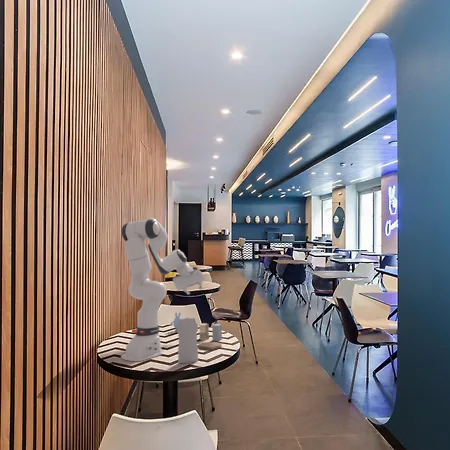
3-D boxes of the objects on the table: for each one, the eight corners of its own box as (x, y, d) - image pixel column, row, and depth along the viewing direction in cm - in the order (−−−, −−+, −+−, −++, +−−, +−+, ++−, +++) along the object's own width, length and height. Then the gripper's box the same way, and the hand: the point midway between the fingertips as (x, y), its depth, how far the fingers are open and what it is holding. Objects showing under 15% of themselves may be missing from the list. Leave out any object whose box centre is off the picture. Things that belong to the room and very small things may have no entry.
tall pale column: (197, 359, 195) (196, 315, 195) (199, 362, 191) (198, 317, 191) (177, 362, 192) (176, 317, 192) (178, 364, 188) (177, 319, 188)
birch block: (205, 340, 231) (204, 325, 231) (199, 339, 233) (199, 324, 233) (208, 338, 234) (208, 323, 234) (203, 337, 236) (203, 323, 236)
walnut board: (213, 351, 208) (213, 349, 208) (193, 348, 215) (193, 346, 215) (225, 345, 219) (225, 343, 219) (206, 342, 226) (206, 340, 226)
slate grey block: (218, 341, 228) (217, 325, 228) (212, 340, 230) (212, 325, 231) (221, 339, 232) (221, 324, 232) (216, 338, 234) (215, 323, 234)
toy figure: (185, 329, 260) (184, 311, 260) (187, 331, 254) (186, 312, 254) (169, 330, 257) (169, 312, 257) (170, 332, 251) (170, 314, 251)
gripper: (172, 275, 240) (182, 294, 235) (200, 266, 251) (209, 284, 247) (170, 279, 244) (179, 299, 239) (196, 270, 256) (206, 288, 251)
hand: (195, 291), depth 243 cm, fingers open, 8 cm apart
